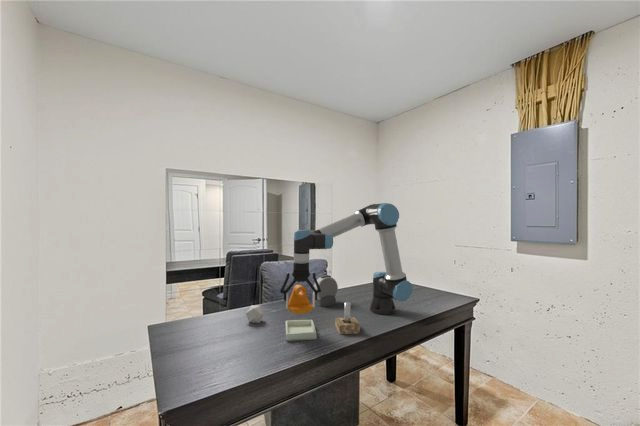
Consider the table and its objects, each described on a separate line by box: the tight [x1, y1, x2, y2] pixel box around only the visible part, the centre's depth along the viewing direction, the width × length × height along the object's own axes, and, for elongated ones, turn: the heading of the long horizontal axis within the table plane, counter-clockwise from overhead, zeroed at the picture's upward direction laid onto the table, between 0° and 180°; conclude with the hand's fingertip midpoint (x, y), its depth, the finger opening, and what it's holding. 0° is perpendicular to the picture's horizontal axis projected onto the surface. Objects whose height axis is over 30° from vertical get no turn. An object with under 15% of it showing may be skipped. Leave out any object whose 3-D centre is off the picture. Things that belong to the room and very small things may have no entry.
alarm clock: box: [312, 274, 339, 307], centre depth 177 cm, size 16×10×18 cm, turn 122°
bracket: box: [286, 284, 314, 315], centre depth 131 cm, size 11×7×12 cm, turn 117°
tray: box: [284, 319, 318, 342], centre depth 131 cm, size 14×16×3 cm
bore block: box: [334, 316, 361, 335], centre depth 136 cm, size 10×10×4 cm
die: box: [245, 304, 265, 324], centre depth 144 cm, size 8×9×10 cm
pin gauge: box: [343, 301, 352, 323], centre depth 136 cm, size 3×3×13 cm
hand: (300, 307), depth 131 cm, fingers closed on bracket, 12 cm apart
